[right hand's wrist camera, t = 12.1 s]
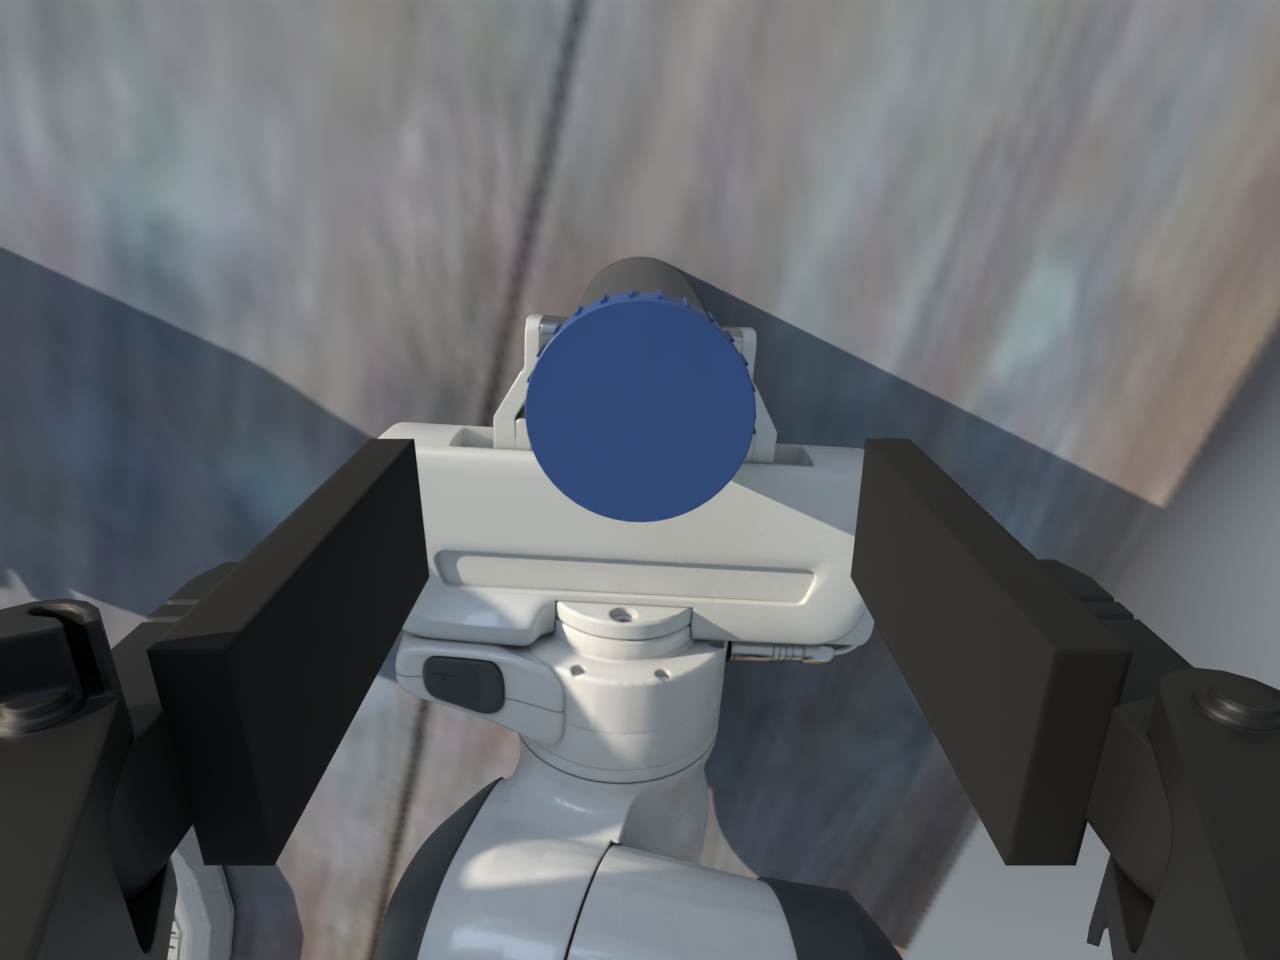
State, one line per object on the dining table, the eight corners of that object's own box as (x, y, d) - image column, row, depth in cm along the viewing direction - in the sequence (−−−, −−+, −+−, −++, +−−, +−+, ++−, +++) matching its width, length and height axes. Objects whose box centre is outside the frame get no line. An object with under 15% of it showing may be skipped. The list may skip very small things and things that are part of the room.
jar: (555, 310, 33) (495, 397, 20) (649, 230, 32) (656, 263, 18) (631, 401, 35) (626, 542, 21) (724, 327, 34) (783, 426, 20)
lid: (484, 384, 21) (472, 400, 19) (657, 238, 19) (659, 243, 18) (625, 539, 22) (624, 566, 21) (793, 415, 21) (806, 433, 20)
